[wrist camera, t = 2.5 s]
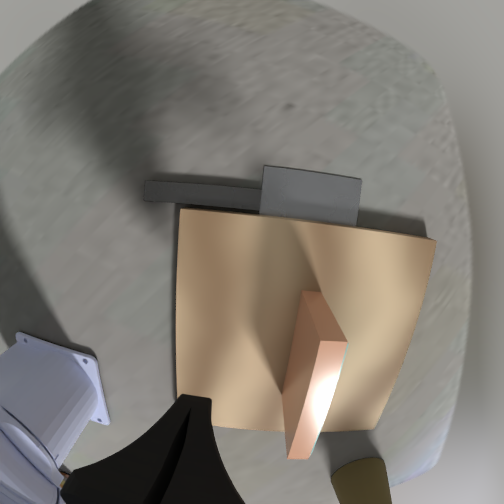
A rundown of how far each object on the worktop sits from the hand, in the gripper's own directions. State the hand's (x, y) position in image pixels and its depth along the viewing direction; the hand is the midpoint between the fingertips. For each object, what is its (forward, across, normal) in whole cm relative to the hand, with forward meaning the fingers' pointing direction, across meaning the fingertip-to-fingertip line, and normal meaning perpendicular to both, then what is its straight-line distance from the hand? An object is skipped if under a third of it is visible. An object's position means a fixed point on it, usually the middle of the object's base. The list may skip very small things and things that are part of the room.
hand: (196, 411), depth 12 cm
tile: (+7, -5, 0) cm, 9 cm away
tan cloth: (+8, -5, 0) cm, 10 cm away
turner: (+8, -1, -9) cm, 12 cm away
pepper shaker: (+8, -15, +17) cm, 24 cm away
